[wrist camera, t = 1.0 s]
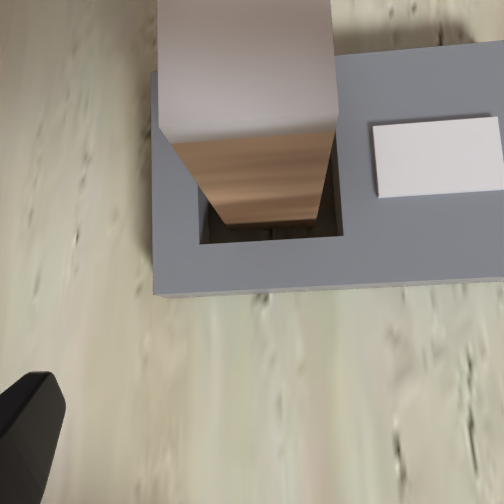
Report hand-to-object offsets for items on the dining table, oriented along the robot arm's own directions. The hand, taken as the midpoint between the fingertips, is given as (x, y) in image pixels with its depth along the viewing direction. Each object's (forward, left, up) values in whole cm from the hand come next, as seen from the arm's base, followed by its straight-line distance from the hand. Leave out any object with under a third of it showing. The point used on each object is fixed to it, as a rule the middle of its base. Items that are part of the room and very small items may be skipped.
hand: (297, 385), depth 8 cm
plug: (+6, +5, -13) cm, 15 cm away
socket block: (+8, +2, -13) cm, 15 cm away
